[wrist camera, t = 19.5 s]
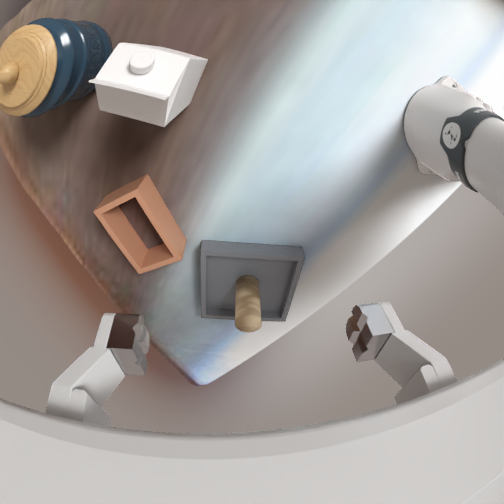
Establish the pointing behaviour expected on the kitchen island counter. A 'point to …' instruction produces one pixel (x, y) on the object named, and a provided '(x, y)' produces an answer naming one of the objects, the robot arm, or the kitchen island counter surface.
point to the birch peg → (247, 304)
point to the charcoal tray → (248, 263)
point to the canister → (50, 64)
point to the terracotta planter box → (127, 235)
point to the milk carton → (148, 82)
